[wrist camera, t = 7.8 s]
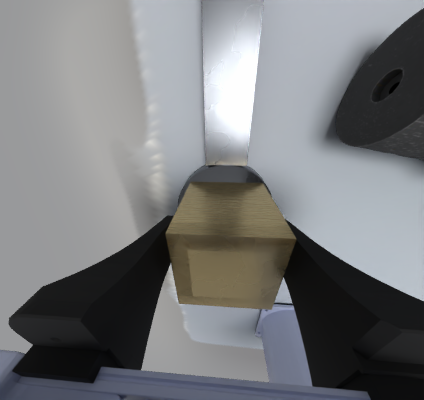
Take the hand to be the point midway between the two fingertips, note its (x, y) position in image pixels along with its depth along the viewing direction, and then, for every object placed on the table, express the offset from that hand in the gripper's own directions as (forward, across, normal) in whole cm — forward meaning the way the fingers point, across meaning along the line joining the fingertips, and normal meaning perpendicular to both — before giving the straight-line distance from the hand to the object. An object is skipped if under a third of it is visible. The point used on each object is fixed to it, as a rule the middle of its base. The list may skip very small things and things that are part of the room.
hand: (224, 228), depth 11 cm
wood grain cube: (+2, 0, 0) cm, 2 cm away
